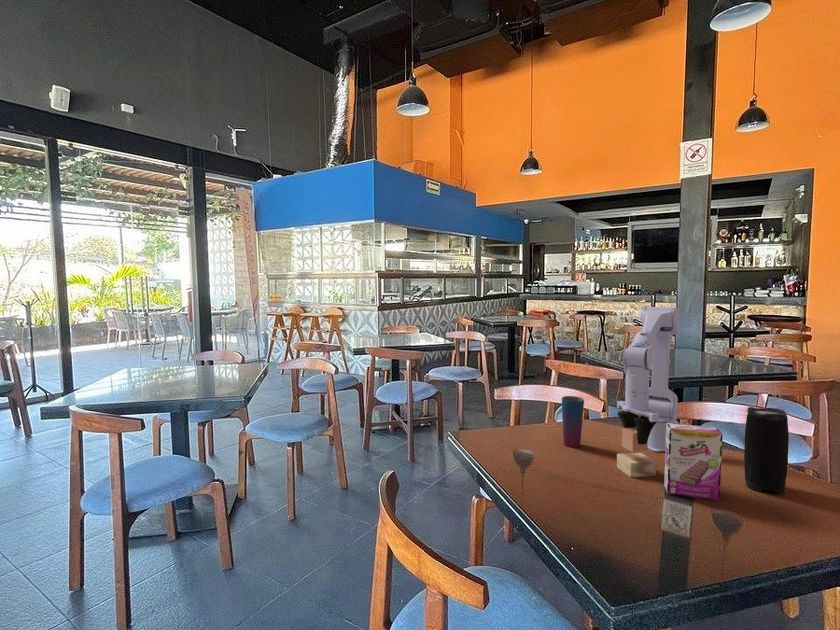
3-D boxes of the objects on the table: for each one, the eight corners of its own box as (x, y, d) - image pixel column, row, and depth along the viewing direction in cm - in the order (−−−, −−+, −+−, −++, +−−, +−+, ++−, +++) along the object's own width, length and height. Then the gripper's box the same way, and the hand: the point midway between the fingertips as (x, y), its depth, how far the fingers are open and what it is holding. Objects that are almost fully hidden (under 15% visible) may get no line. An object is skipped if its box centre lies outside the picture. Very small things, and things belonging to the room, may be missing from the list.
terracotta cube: (636, 444, 125) (636, 427, 125) (647, 450, 120) (647, 432, 120) (621, 446, 124) (622, 428, 124) (632, 451, 120) (632, 433, 119)
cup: (586, 448, 140) (587, 401, 139) (564, 448, 141) (565, 401, 140) (579, 441, 147) (580, 396, 146) (558, 440, 147) (559, 395, 146)
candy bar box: (667, 495, 108) (668, 428, 107) (663, 486, 113) (664, 422, 112) (721, 502, 105) (723, 432, 104) (715, 492, 109) (717, 426, 108)
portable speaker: (774, 481, 115) (777, 406, 114) (795, 498, 106) (798, 416, 105) (736, 478, 117) (738, 404, 116) (753, 494, 108) (756, 414, 107)
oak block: (640, 466, 126) (640, 452, 126) (655, 476, 119) (656, 462, 119) (616, 467, 126) (616, 453, 126) (630, 478, 119) (630, 463, 119)
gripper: (607, 386, 128) (607, 433, 129) (642, 398, 114) (641, 451, 114) (629, 385, 129) (629, 431, 130) (666, 396, 115) (665, 448, 116)
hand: (636, 440), depth 122 cm, fingers closed on terracotta cube, 4 cm apart
